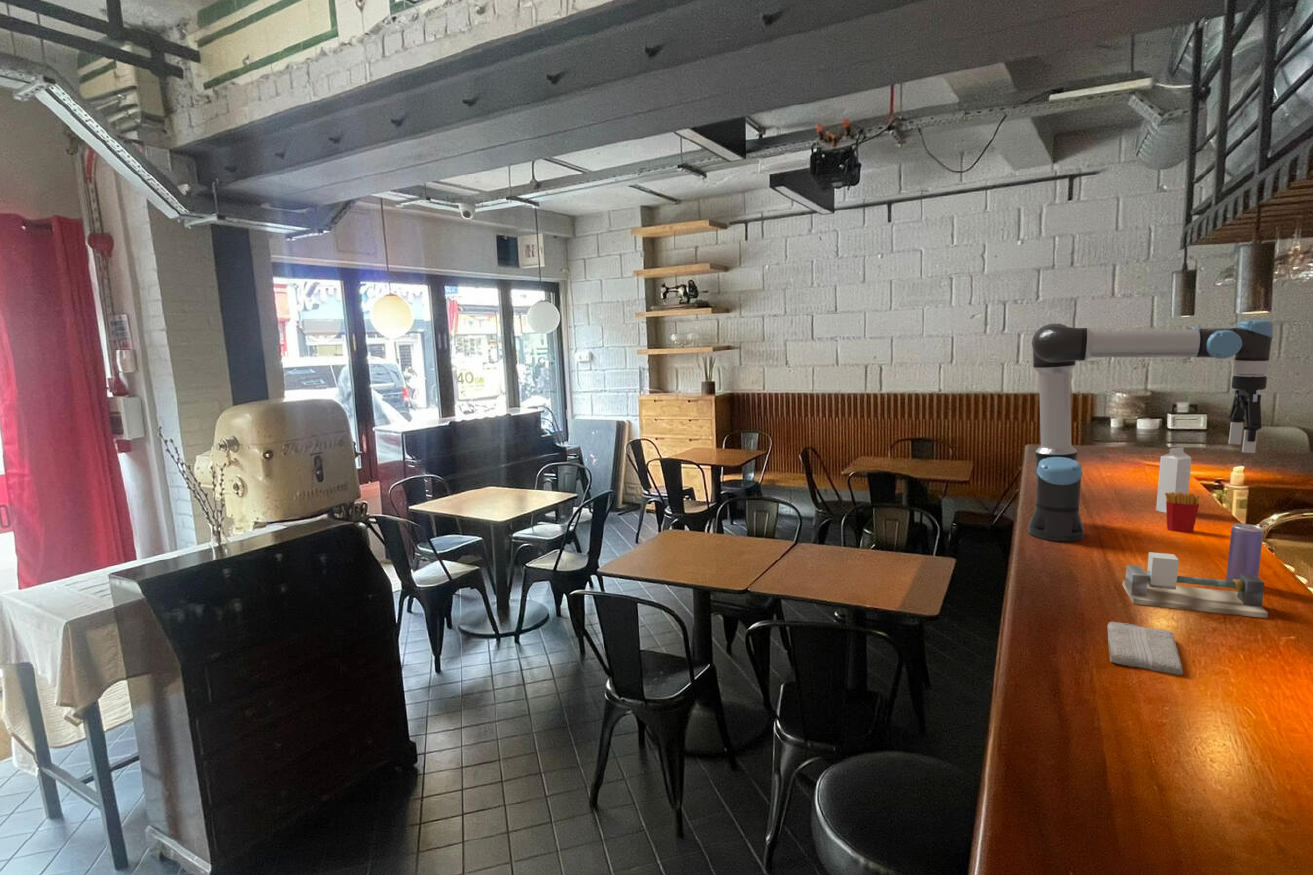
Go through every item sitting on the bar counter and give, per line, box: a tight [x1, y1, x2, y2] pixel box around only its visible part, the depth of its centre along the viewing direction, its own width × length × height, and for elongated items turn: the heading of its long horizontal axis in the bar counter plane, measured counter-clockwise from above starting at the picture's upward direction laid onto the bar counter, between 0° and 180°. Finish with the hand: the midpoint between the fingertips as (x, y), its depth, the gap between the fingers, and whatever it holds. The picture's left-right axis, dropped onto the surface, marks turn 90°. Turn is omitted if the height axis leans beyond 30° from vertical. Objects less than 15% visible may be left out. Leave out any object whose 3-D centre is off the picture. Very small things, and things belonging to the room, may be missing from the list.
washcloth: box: [1107, 621, 1184, 676], centre depth 140 cm, size 12×18×3 cm, turn 150°
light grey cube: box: [1146, 551, 1180, 590], centre depth 164 cm, size 5×4×7 cm
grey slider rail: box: [1122, 564, 1269, 619], centre depth 162 cm, size 25×12×7 cm, turn 66°
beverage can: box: [1225, 523, 1264, 581], centre depth 169 cm, size 6×6×15 cm
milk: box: [1155, 446, 1192, 514], centre depth 229 cm, size 6×6×22 cm
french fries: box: [1165, 492, 1200, 533], centre depth 211 cm, size 8×4×12 cm, turn 57°
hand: (1241, 448), depth 199 cm, fingers open, 13 cm apart
